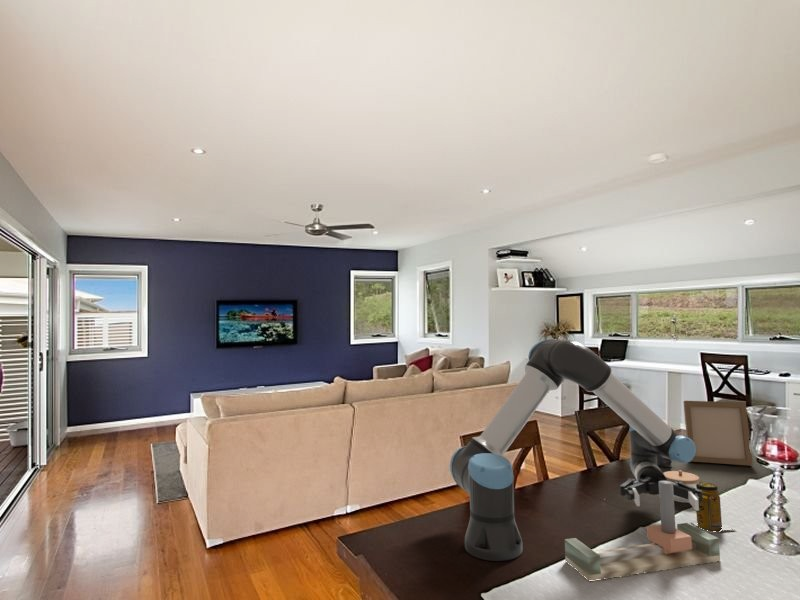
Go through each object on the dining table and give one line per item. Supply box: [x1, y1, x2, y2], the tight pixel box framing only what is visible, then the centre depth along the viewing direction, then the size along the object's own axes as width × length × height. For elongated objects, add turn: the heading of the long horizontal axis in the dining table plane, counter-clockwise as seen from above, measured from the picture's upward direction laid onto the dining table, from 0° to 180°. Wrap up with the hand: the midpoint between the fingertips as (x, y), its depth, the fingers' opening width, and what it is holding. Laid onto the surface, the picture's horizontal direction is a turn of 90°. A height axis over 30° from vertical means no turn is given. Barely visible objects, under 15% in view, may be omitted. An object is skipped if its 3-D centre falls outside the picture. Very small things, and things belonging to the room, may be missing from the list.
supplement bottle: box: [657, 455, 673, 469], centre depth 200 cm, size 7×7×12 cm
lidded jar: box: [662, 469, 700, 504], centre depth 162 cm, size 11×11×9 cm
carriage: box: [646, 481, 692, 554], centre depth 123 cm, size 6×8×16 cm
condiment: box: [695, 481, 737, 534], centre depth 140 cm, size 7×8×12 cm
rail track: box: [564, 522, 721, 581], centre depth 121 cm, size 36×10×6 cm, turn 103°
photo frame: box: [683, 400, 754, 467], centre depth 206 cm, size 15×22×25 cm
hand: (667, 503), depth 126 cm, fingers open, 13 cm apart
